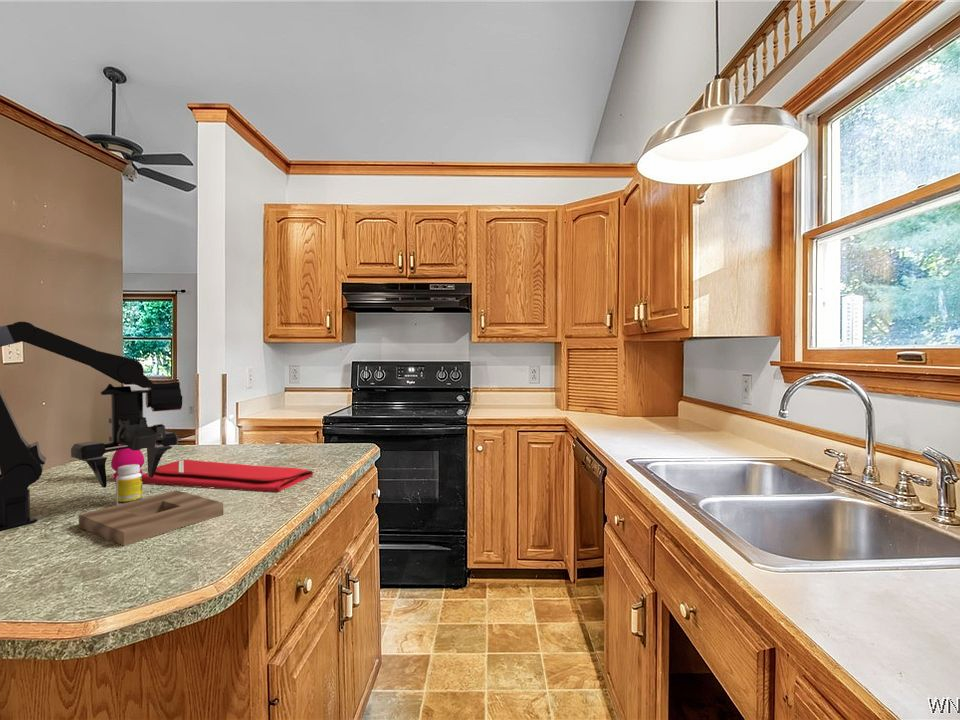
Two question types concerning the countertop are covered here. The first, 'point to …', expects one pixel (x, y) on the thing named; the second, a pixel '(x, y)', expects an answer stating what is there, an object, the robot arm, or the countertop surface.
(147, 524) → the socket board
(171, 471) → the red folded cloth
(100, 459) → the robot arm
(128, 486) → the supplement bottle
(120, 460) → the pepper mill
